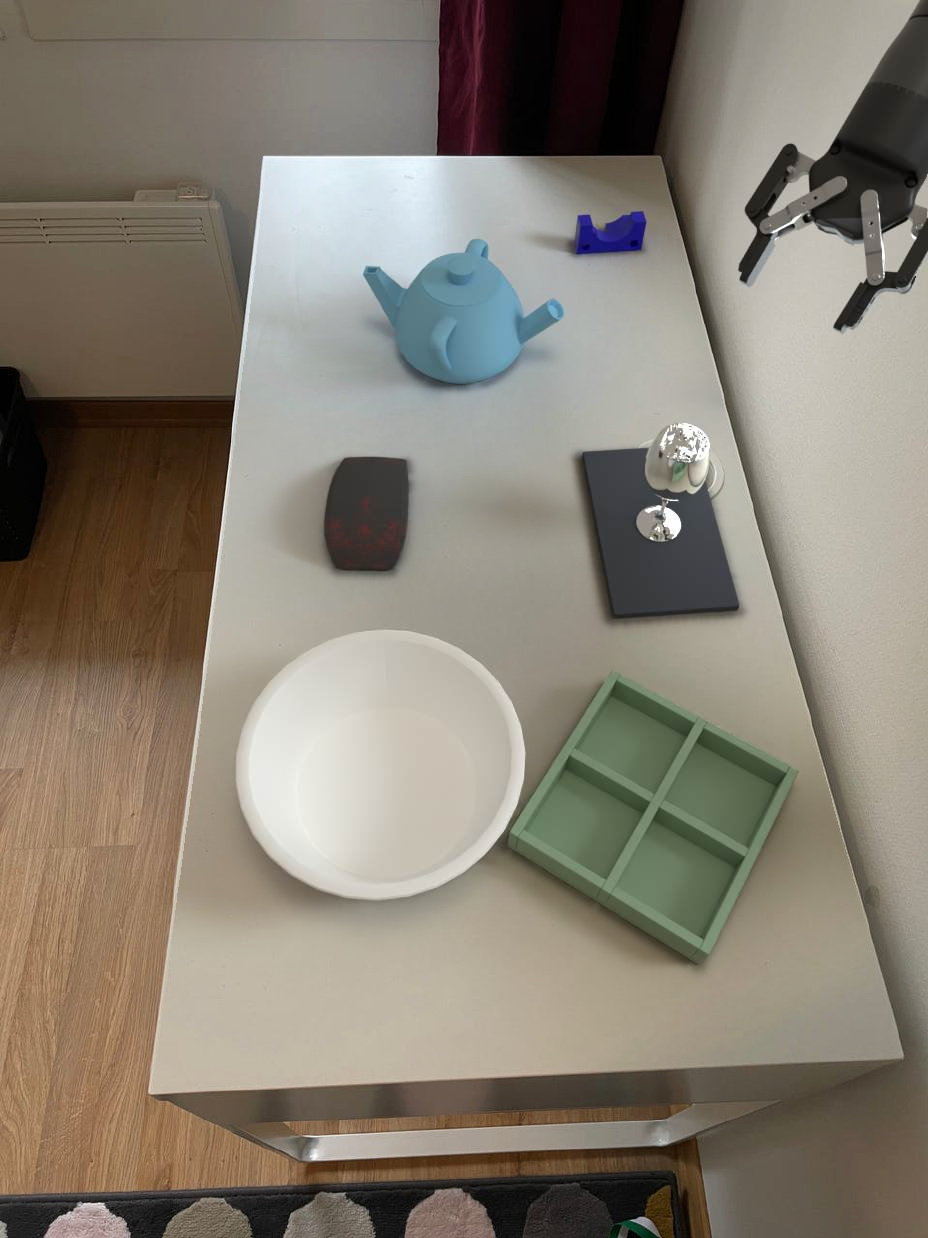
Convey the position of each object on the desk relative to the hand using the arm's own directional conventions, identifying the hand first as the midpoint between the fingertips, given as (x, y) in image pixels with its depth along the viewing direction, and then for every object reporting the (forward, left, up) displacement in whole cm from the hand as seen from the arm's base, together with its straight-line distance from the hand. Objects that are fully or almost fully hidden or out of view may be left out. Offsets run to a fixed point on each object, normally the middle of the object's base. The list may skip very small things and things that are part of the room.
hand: (790, 306), depth 77 cm
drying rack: (-9, +34, -24) cm, 43 cm away
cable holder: (+29, -29, -25) cm, 48 cm away
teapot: (+34, -4, -25) cm, 42 cm away
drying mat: (+4, +7, -24) cm, 26 cm away
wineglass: (+4, +7, -24) cm, 25 cm away
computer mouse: (+29, +21, -25) cm, 43 cm away
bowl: (+10, +44, -25) cm, 52 cm away
